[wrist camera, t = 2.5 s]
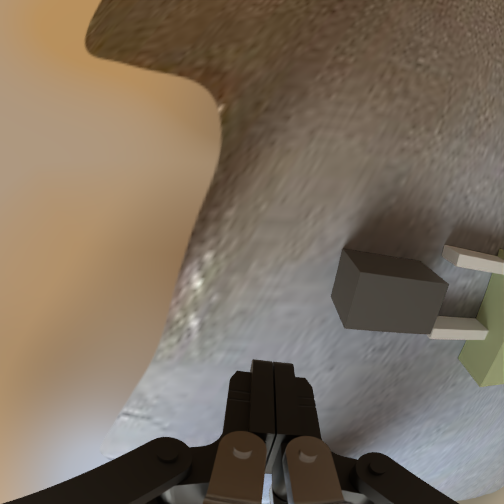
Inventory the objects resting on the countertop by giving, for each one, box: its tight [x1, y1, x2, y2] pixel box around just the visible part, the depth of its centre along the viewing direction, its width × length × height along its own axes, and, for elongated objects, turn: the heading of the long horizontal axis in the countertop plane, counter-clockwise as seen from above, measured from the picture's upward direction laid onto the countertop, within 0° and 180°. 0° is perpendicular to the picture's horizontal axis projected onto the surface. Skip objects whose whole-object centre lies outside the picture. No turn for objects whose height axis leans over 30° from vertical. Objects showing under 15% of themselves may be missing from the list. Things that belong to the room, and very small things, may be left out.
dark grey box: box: [331, 249, 449, 334], centre depth 22 cm, size 7×4×5 cm, turn 82°
